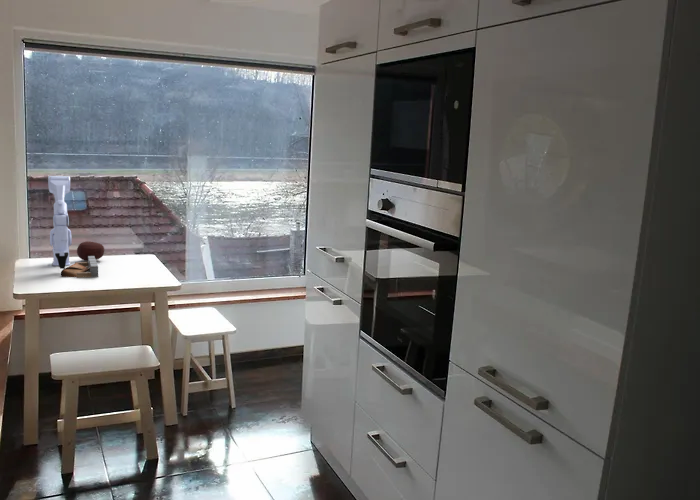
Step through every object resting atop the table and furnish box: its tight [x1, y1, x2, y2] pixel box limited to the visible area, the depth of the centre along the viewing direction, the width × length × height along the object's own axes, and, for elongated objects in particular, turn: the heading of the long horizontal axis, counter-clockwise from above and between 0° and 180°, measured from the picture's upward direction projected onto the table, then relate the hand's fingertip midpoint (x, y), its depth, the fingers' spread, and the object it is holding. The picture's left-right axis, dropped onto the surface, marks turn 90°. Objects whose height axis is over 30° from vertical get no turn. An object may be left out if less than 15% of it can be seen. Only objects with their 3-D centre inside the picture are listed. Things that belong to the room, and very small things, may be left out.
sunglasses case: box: [60, 262, 90, 278], centre depth 298 cm, size 18×7×7 cm
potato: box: [76, 240, 105, 262], centre depth 326 cm, size 11×13×10 cm
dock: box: [74, 256, 99, 279], centre depth 302 cm, size 27×9×5 cm, turn 25°
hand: (62, 268), depth 298 cm, fingers closed
